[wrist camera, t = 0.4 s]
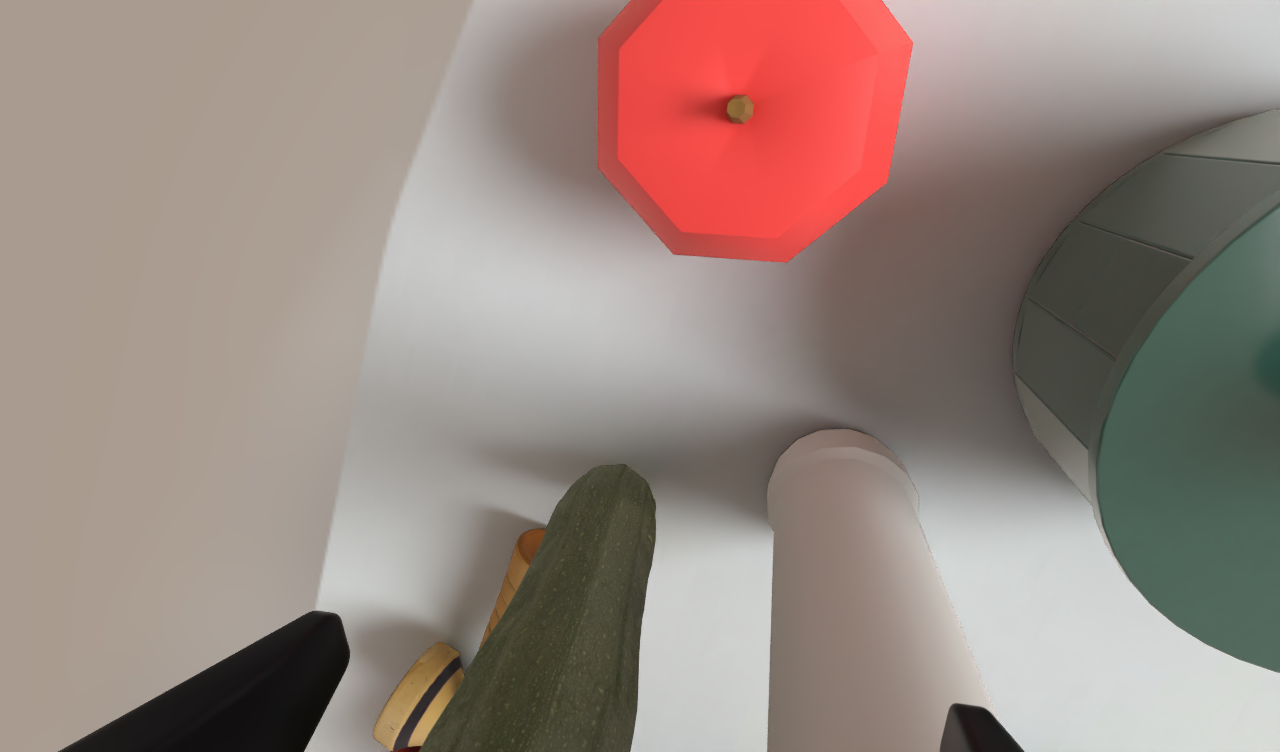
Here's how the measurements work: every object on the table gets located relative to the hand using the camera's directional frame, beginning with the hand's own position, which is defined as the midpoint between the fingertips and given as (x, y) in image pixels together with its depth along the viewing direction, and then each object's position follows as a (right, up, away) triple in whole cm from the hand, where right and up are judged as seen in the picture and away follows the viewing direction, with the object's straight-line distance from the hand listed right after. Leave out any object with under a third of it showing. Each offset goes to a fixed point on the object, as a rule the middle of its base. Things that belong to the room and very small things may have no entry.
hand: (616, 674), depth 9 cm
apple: (+4, +13, +10) cm, 16 cm away
